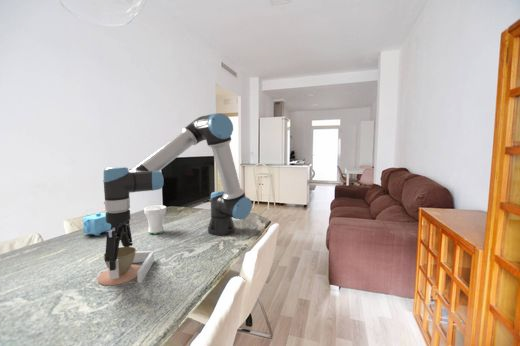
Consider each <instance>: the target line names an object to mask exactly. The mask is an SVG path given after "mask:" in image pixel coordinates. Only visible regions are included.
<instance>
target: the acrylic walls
mask: <svg viewBox="0 0 520 346" xmlns="http://www.w3.org/2000/svg"><path fill="white" fill-rule="evenodd" d="M137 263H142V264H141V265H140V266H141V267H140V268H139V270H138V271H137V277H136V279H137V284H141V283H142V282H143V281H144V279H145V278H146V276H147V275H148V272H149V271H150V269H151V267H152V265H153V264H154V263H155V253H154V251H152V250H145V251H143V250H142V251H136V252H135V257H134V260H133V263H132V264H137Z"/></svg>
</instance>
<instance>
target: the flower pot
mask: <svg viewBox="0 0 520 346" xmlns="http://www.w3.org/2000/svg"><path fill="white" fill-rule="evenodd" d="M135 252H137V251H136V248H135V247H133V246H129V247H124V246H119V249H118V255H117V259H118V261H119V274H122V273H125V272H127V271H128V270H129V269H130V267H131V265H132V264H134V263H133V260H134V257H135ZM103 260H104V263H105V265H106V267H107V268H108V269H109V262H105V253H104V254H103Z"/></svg>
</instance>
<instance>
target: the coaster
mask: <svg viewBox="0 0 520 346" xmlns="http://www.w3.org/2000/svg"><path fill="white" fill-rule="evenodd" d="M141 266H142V265H139V264H136V263H132V265H131V267H130V269H129V270H128V271H127V272H125V273H122V274H119V278H114V279H110V275H109V268H108V269H106V270H104V271H103V272H102V273H100V274H99V275H98V277H97V283H98V284H99V285H102V286H115V285H116V286H117V285H121V284H122V285H123V284H126V283H128V282H131V281H132V280H135V279H137V271H138V270H139V268H140V267H141Z"/></svg>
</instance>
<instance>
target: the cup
mask: <svg viewBox="0 0 520 346" xmlns="http://www.w3.org/2000/svg"><path fill="white" fill-rule="evenodd" d="M166 212H167V206H166V205H160V204H159V205H158V204H157V205H150V206H145V207H144V209H143V213H144V215H145V217H146V219H147V222H148V223H147V224H148V230H147V231H148V234H149V235H152V234H154V235H155V236H156V235H158V233H159V234H162V233H163V232H164V219H165V218H164V217H165V216H166V215H165V214H166Z"/></svg>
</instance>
